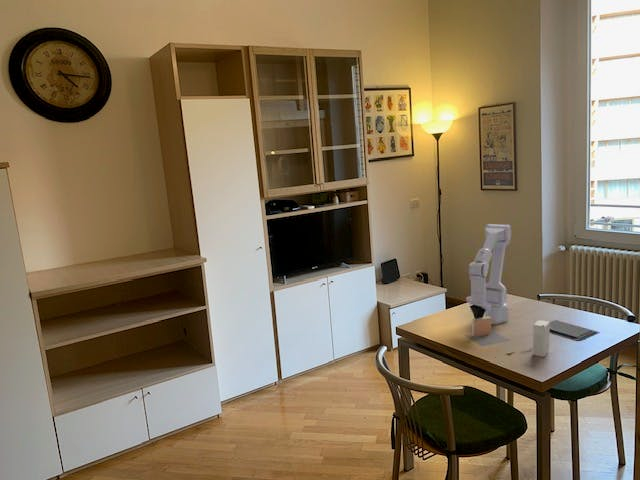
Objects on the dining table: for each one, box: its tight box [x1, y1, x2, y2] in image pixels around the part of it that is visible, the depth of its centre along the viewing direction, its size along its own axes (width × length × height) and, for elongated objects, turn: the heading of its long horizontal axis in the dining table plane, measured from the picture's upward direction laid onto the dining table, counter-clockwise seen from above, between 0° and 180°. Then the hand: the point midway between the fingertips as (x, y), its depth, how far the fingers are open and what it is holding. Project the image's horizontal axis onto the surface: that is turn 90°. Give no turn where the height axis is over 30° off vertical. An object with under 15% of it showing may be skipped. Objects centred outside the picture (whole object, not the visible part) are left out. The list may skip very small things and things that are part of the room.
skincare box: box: [532, 320, 551, 358], centre depth 188 cm, size 6×4×12 cm
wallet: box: [549, 319, 600, 342], centre depth 209 cm, size 20×2×15 cm
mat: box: [465, 329, 511, 347], centre depth 204 cm, size 13×12×1 cm
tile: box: [471, 316, 492, 337], centre depth 207 cm, size 8×2×7 cm, turn 107°
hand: (478, 322), depth 208 cm, fingers closed
